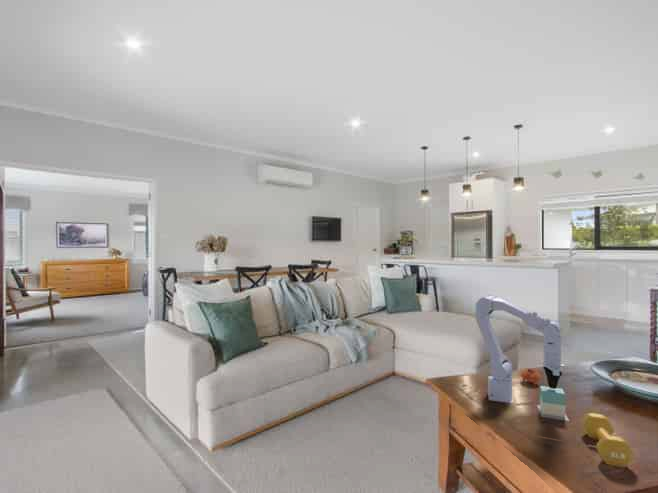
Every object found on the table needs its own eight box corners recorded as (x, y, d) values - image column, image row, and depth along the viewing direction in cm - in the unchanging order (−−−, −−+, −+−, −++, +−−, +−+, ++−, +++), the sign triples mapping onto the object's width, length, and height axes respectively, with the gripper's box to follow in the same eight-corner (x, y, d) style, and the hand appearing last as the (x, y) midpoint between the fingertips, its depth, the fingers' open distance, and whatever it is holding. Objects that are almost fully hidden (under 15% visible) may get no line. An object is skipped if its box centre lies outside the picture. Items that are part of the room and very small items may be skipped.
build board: (541, 417, 132) (541, 416, 132) (536, 405, 141) (536, 404, 141) (569, 422, 128) (569, 420, 128) (562, 409, 138) (562, 408, 138)
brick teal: (542, 402, 134) (542, 390, 134) (540, 396, 139) (540, 385, 138) (565, 405, 131) (565, 393, 131) (562, 399, 136) (562, 388, 136)
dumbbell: (636, 472, 101) (636, 444, 101) (599, 465, 104) (599, 438, 104) (610, 437, 118) (610, 414, 118) (579, 432, 122) (579, 409, 122)
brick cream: (542, 413, 134) (542, 402, 134) (540, 407, 139) (540, 396, 139) (565, 417, 131) (565, 405, 131) (562, 411, 136) (562, 400, 136)
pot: (525, 377, 170) (528, 364, 168) (541, 386, 163) (545, 373, 162) (516, 380, 166) (519, 367, 164) (532, 389, 159) (535, 376, 158)
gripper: (569, 360, 126) (569, 396, 126) (559, 348, 140) (560, 381, 140) (546, 357, 129) (546, 393, 129) (539, 346, 142) (539, 379, 143)
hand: (552, 387), depth 135 cm, fingers closed
